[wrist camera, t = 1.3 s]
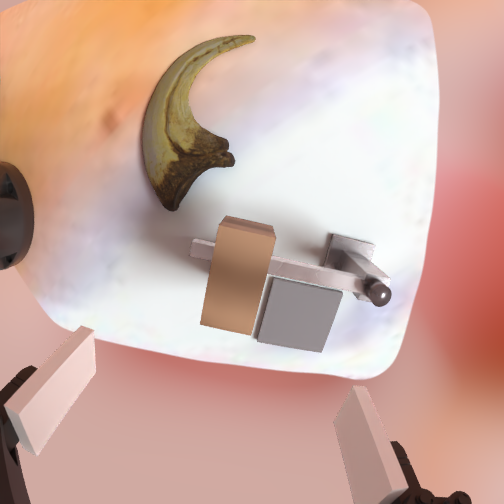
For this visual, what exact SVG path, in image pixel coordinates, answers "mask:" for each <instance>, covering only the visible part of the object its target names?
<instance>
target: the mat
mask: <svg viewBox="0 0 504 504" xmlns="http://www.w3.org/2000/svg"><path fill="white" fill-rule="evenodd" d="M342 295H343V293H342V291H337V290H332V289H327V288H322V287H318V286H313V285H308V284H303V283H299V282H294V281H289V280H285V279H280V278H275V277H274V279H273V282H272V286H271V290H270V294H269V297H268V301H267V305H266V309H265V312H264V316H263V320H262V323H261V327H260V330H259V334H258V338H257V342H261V343H267V344H272V345H277V346H283V347H289V348H295V349H301V350H307V351H314V352H320V353H322V350H323V347H324V345H325V342H326V340H327V337H328V334H329V332H330V329H331V326H332V324H333V321H334V318H335V315H336V313H337V310H338V307H339V304H340V301H341V298H342Z"/></svg>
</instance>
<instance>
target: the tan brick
mask: <svg viewBox="0 0 504 504" xmlns="http://www.w3.org/2000/svg"><path fill="white" fill-rule="evenodd" d="M275 240H276V236H275V233H274V230H273V226H271V225H266V224H262V223H257V222H253V221H249V220H244V219H240V218H235V217H231V216H225V218H224V219H223V220H222V222H221V223H220V224H219V227H218V232H217V237H216V242H215V247H214V252H213V257H212V262H211V267H210V272H209V277H208V283H207V288H206V293H205V299H204V304H203V310H202V315H201V321H200V325H204V326H209V327H213V328H218V329H222V330H227V331H231V332H236V333H241V334H246V335H251V333H252V330H253V326H254V322H255V318H256V315H257V311H258V307H259V303H260V299H261V295H262V291H263V288H264V284H265V280H266V276H267V272H268V268H269V264H270V260H271V256H272V252H273V248H274V244H275Z"/></svg>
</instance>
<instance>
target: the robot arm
mask: <svg viewBox="0 0 504 504" xmlns="http://www.w3.org/2000/svg"><path fill="white" fill-rule="evenodd" d="M33 230H34V211H33V203H32V198H31V194H30V191H29V188H28V185H27V183H26V181H25V179H24V177H23V175H22V174H21V173H20V171H19V170H18V169H17V168H16V167H15V166H13V165H11V164H9V163H5V162H0V270H3V269H7V268H9V267H11V266H14V265H16V264H18V263H19V262H20V261H21V260H22V259H23V258H24V257H25V256H26V254H27V252H28V250H29V247H30V245H31V241H32V237H33ZM95 373H96V363H95V347H94V330H92V329H89V328H86V327H84V326H80V327H79V328H78V329H77V330H76V331H75V332H74V333H73V334H72V335H71V336H70V337H69V338H68V339H67V340H66V341H65V342H64V343H63V344H62V345H61V346H60V347H59V348H58V349H57V350H56V351H55V352H54V353H53V354H52V355H51V356H50V357H49V358H48V359H47V360H46V361H45V362H44V363H43V364H42V365H41V366H40V367H39V368H36V367H33V366H32V365H31V366H28V367H26V368H24V369H22V370H21V371H20V372H19V373H18V374H17V375H16V377H14V378H13V379H12V380H11V382H9V383H8V384H7V385H6V386H5V387H4V388H3V389H2V390H1V391H0V504H31V503H30V500H29V496H28V493H27V489H26V486H25V482H24V478H23V474H22V469H21V465H20V460H19V455H18V450H17V448H16V444H17V443H18V442H19V441H20V443H21V445H22V447H23V448H24V449H25V450H27V451H28V452H30V453H32V454H33V455H35V456H38V455H39V453H40V452H41V450H42V449H43V447H44V446H45V444H46V443H47V441H48V439H49V438H50V437H51V435H52V434H53V432H54V431H55V429H56V428H57V426H58V425H59V423H60V422H61V420H62V419H63V418H64V416H65V415H66V413H67V412H68V410H69V409H70V408H71V406H72V405H73V403H74V402H75V401H76V399H77V398H78V396H79V395H80V393H81V392H82V391H83V389H84V388H85V387H86V385H87V384H88V382H89V381H90V380H91V378H92V377H93V376H94V374H95ZM333 423H334V426H335V430H336V434H337V437H338V441H339V445H340V449H341V453H342V457H343V461H344V465H345V469H346V473H347V477H348V481H349V485H350V489H351V493H352V497H353V501H354V504H472V502H471V499H470V497H469V495H467V494H466V493H465V492H462V491H456V492H454V493H453V494H452V495H450V496H449V497H448V498H445V497H434V495H433V494H432V493H431V492H430V491H428V490H427V489H423V488H421V487H420V484H419V482H418V480H417V477H416V475H415V473H414V470H413V468H412V466H411V465H410V461H409V459H408V458H407V454H406V453H405V450H404V448H403V447H402V446H401V445H400V444H399V443H398V442H397V441H394V442H393V441H392V442H390V441H389V438H388V436H387V433H386V431H385V429H384V426H383V424H382V422H381V420H380V417H379V416H378V413H377V411H376V408H375V406H374V404H373V401H372V399H371V397H370V395H369V393H368V390H367V388H366V387H365V386H352V388H351V390H350V392H349V394H348V396H347V398H346V400H345V402H344V403H343V406H342V407H341V409H340V411H339V413H338V415H337V416H336V418H335V420H334V422H333Z"/></svg>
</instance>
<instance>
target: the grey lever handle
mask: <svg viewBox="0 0 504 504" xmlns="http://www.w3.org/2000/svg"><path fill="white" fill-rule="evenodd" d="M214 247H215V243H214V242H209V241H205V240H200V239H196V238H195V239H194V240H193V241H192V243H191V249H190V255H189V256H191V257H195V258H200V259H204V260H208V261H212V257H213V252H214ZM374 249H375V245H374V244H370V243H366V242H363V241H359V240H355V239H351V238H347V237H343V236H339V235H335V234H333V235H332V238H331V242H330V246H329V249H328V253H327V256H326V259H325V263H324V266H323V267H321V266H317V265H312V264H308V263H303V262H299V261H294V260H290V259H285V258H281V257H276V256H271V260H270V264H269V268H268V272H267V274H271V275H276V276H281V277H285V278H290V279H295V280H299V281H304V282H309V283H313V284H318V285H323V286H328V287H332V288H337V289H342V290H347V291H352V292H353V294H354V295H355V296H356V298H357V299H358V300H362V301H367V302H372V303H373V304H374V305H375V306H378V307H381V306H384V305H386V304H387V303H388V302H389V301H390V299H391V290H390V289H389V288H388V286H389V283H390V280H391V278H390V277H388V276H387V275H386V274H385V273H384V272H382V271H381V270H380V269H379V268H378V267H377V266H375V265H374V264H373V263H372V262H371V259H372V255H373V252H374Z"/></svg>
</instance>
